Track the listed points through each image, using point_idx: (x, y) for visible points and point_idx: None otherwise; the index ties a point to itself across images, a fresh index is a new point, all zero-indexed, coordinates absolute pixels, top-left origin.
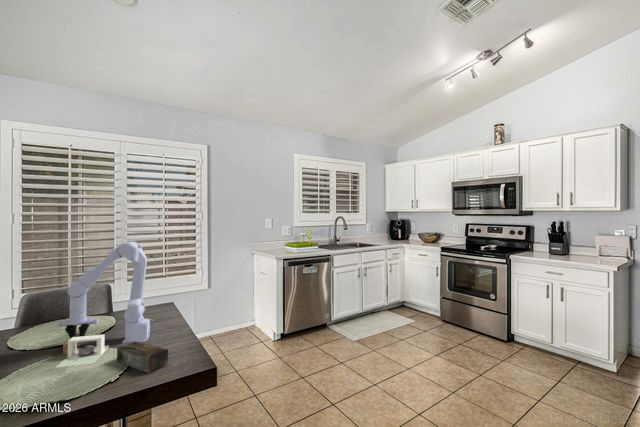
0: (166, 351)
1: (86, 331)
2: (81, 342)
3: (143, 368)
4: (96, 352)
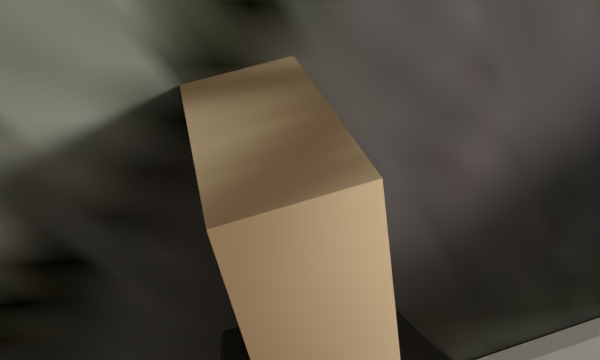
0: None
1: (363, 156)
2: None
3: None
4: None
